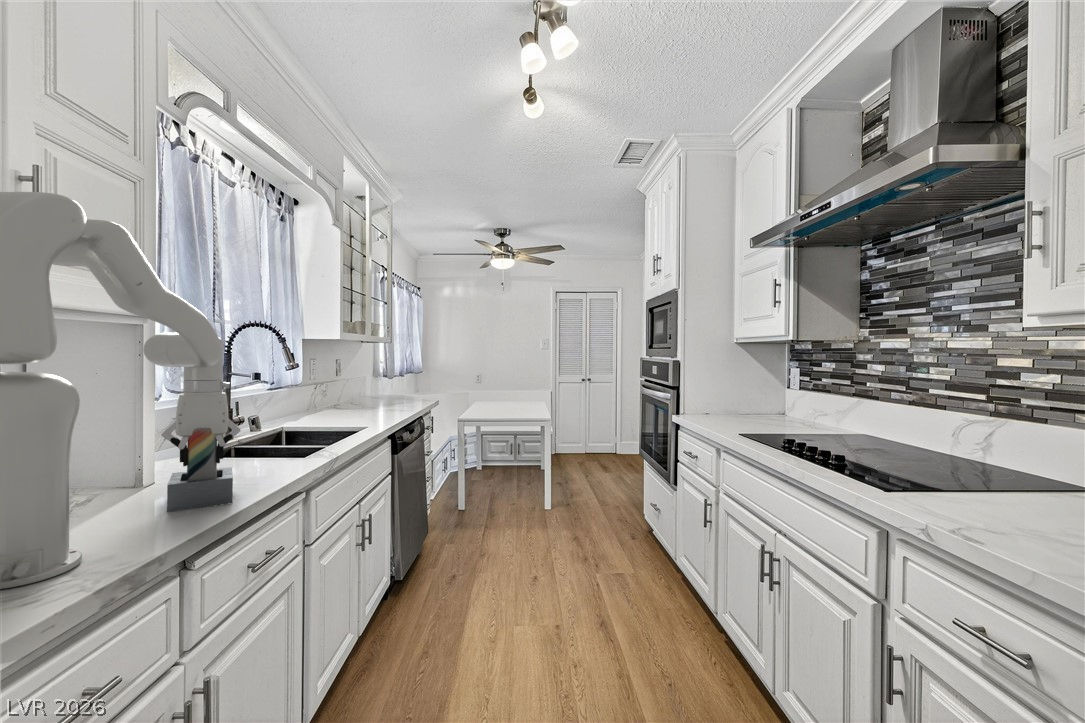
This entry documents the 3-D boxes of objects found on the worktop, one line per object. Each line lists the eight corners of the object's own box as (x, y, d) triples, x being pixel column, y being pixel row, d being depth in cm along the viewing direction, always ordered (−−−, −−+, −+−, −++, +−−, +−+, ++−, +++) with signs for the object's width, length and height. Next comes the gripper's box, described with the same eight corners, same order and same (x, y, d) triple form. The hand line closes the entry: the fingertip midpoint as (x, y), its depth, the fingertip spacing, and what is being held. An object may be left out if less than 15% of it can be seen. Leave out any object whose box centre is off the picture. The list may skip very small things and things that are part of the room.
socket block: (232, 503, 110) (232, 477, 110) (167, 511, 103) (167, 484, 103) (231, 490, 120) (232, 467, 120) (172, 497, 113) (172, 473, 113)
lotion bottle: (192, 487, 113) (194, 405, 113) (219, 486, 115) (221, 405, 115) (182, 494, 108) (183, 407, 108) (211, 492, 110) (212, 407, 110)
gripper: (245, 386, 119) (244, 457, 119) (158, 387, 110) (157, 464, 110) (246, 388, 113) (245, 463, 113) (154, 389, 103) (153, 471, 104)
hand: (202, 462), depth 111 cm, fingers closed on lotion bottle, 5 cm apart
